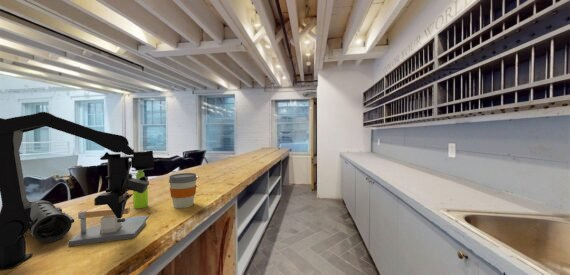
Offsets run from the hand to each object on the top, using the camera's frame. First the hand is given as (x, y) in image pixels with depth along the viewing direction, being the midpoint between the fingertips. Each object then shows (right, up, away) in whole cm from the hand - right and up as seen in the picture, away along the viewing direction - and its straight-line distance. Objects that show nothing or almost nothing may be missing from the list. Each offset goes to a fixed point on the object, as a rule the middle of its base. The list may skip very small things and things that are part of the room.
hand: (119, 218), depth 74 cm
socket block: (-6, -7, +3) cm, 9 cm away
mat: (-5, -7, +15) cm, 17 cm away
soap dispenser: (-15, -7, +33) cm, 37 cm away
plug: (-6, -7, +3) cm, 9 cm away
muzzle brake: (-29, -2, +11) cm, 31 cm away
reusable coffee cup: (+6, -7, +35) cm, 36 cm away
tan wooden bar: (-7, 0, +3) cm, 8 cm away
